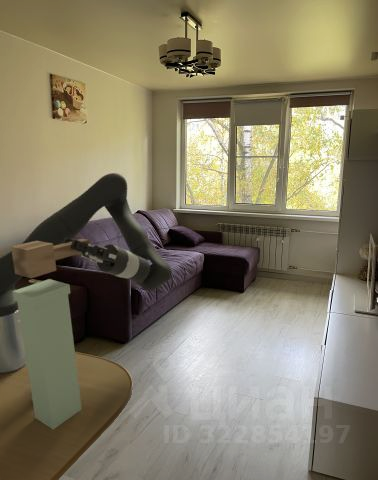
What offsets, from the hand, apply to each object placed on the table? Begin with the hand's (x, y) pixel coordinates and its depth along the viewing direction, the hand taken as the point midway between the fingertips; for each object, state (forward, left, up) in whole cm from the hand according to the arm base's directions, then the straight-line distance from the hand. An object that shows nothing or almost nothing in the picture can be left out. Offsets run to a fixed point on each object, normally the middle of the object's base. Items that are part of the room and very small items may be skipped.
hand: (68, 243), depth 86 cm
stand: (0, -8, -40) cm, 41 cm away
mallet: (0, -3, -4) cm, 6 cm away
